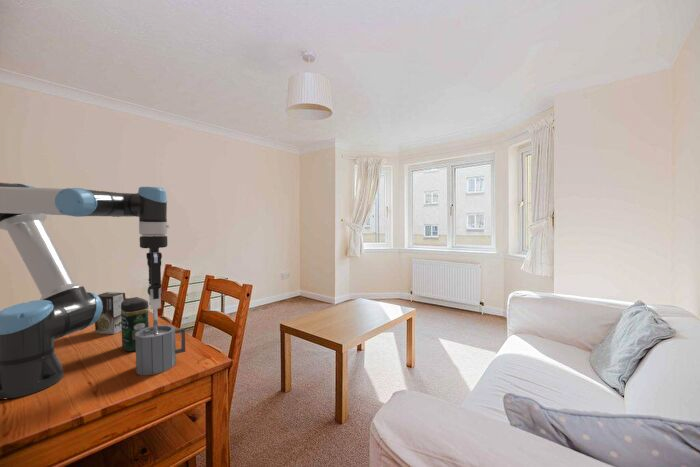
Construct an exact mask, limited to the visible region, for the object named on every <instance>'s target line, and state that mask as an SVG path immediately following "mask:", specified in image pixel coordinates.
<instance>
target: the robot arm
mask: <svg viewBox="0 0 700 467" xmlns="http://www.w3.org/2000/svg"><path fill="white" fill-rule="evenodd" d="M137 190H138V191H137V192H136V193H129V192H128V193H127V192H113V191H104V190H96V189H95V190H93V189H86V188H85V189H84V188H80V187H79V188H77V187H67V188H59V187H58V188H54V187H53V188H51V187H36V186H33V185H26V184H24V183H23V184H22V183H7V182H0V230H4V231H7V233H8V235H9V237H10V239H11V241H12V242H13V244H14V246H15V248H16V250H17V251H18V252H17V253H18V254H19V256H20V257H21V259H22V261H23V263H24V266H25V267H26V269H27V270H28V272H29V274H30V276H31V278H32V280H33V281H34V283H35V285H36V288H37V289H38V291H39V293H40V295H41V297H40V298H39V299H38V300H30V301H27V302H21V303H17V304H14V305H11V306H7V307H5V308H4V309H1V310H0V399H4V398H12V399H15V398H21V397H25V396H29V395H31V394H34V393H38V392H40V391H43V390H45V389H48V388H50V387H51V386H54V385H55V384H57V383H58V382H60V381H61V380H62V378H63V377H64V367H63V365H62V363H61V362H60V360H59V358H58V356H57V354H56V353H55V340H58V339H61V338H62V337H65V336H68V335H70V334H73V333H75V332H78V331H83V330H84V329H86V328H88V327H91V326H93V325H95V322H97V320H98V319H99V318H100V316H101V313H102V309H103V306H102V301H101V299H100V298H99V296H98V295H99V294H96V293H94V292H90V291H87V290H86V289H85V287H84V285H81V284H78V283H76V281H75V280H74V279H73V277H72V275H71V272H70V271H69V269H68V266H67V265H66V263H65V260H64V259H63V258H62V256H61V254H60V252H59V250H58V248H57V246H56V245H55V242H54V240H53V239H52V236H51V235H50V233H49V231H48V230H47V228H46V227H47V226H46V225H45V223H44V222H45V220H46V219H47V215H49V216H68V217H78V218H79V217H82V218H83V217H111V218H112V217H114V218H115V217H117V218H120V217H124V218H125V217H127V218H128V217H132V218H133V217H136V218H138V229H139V230H138V234H139V235H140V236H139V248H141V249H148V252H147V253H146V260H147V266H148V284H149V285H148V287H147V290H148V289H150V295H151V296H150V295H149V294H148V295H149V296H148V298H149V301H148V305H150V310H153V309H157V310H158V309H162V295H161V294H162V292H161V288H160V287H162V276H161V275H162V272H161V269H162V268H161V267H162V259H163V255H162V254H163V253H162V252H160V249H163V248H167V247H168V236H167V234H168V229H169V228H170V225H169V224H168V219H167V217H168V216H167V213H168V212H167V211H168V210H167V209H168V200H167V191H166V189H165V188H163V187H156V186H140V187H138V189H137ZM149 286H151V287H149Z"/></svg>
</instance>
